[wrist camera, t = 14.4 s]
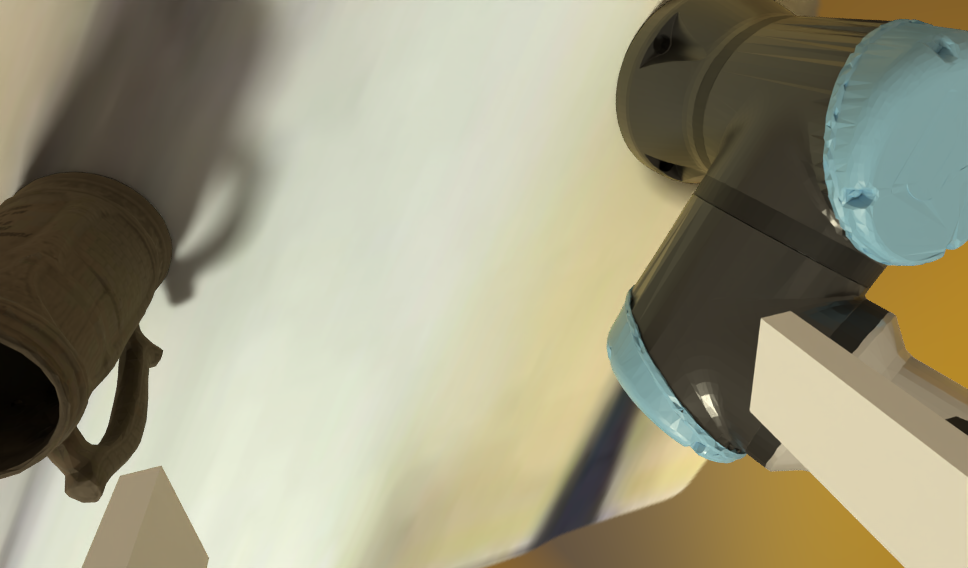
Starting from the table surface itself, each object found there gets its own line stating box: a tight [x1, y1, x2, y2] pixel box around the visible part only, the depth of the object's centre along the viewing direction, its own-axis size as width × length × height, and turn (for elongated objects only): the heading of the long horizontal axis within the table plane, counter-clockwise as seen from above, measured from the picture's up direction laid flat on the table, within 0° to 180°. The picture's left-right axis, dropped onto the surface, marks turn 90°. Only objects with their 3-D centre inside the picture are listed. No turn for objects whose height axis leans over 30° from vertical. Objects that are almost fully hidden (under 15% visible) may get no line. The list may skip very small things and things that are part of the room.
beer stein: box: [0, 172, 172, 503], centre depth 36 cm, size 15×11×20 cm
